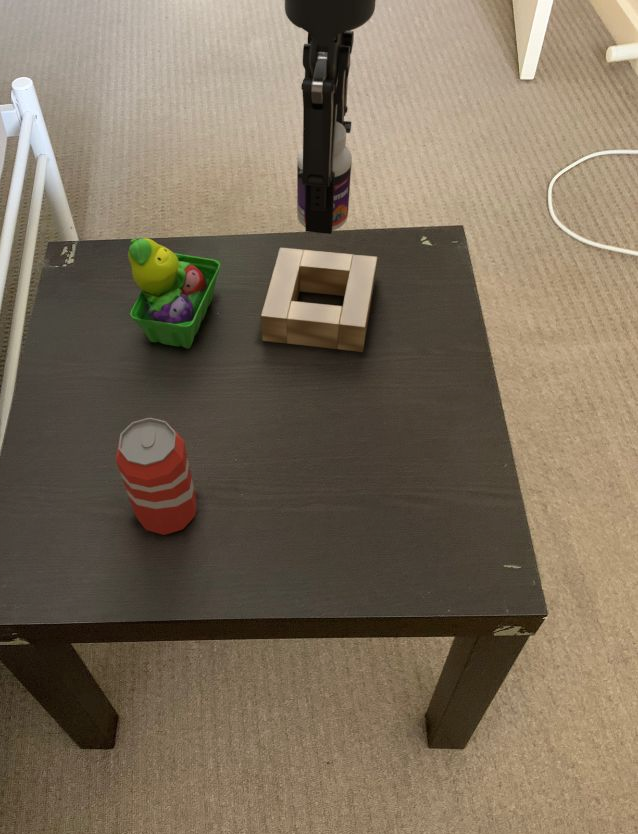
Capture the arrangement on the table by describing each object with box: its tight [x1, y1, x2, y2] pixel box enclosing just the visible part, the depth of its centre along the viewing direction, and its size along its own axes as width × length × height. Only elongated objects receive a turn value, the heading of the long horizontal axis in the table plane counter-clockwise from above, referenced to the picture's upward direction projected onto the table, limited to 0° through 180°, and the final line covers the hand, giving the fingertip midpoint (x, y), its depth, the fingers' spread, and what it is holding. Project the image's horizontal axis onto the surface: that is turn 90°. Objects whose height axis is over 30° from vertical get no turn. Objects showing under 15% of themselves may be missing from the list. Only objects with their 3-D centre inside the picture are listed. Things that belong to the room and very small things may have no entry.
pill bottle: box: [296, 122, 353, 232], centre depth 76 cm, size 5×5×10 cm
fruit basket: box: [127, 237, 221, 349], centre depth 87 cm, size 11×9×11 cm
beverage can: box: [115, 417, 197, 536], centre depth 72 cm, size 6×6×12 cm
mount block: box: [260, 247, 378, 353], centre depth 90 cm, size 12×12×4 cm
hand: (323, 211), depth 79 cm, fingers closed on pill bottle, 5 cm apart
